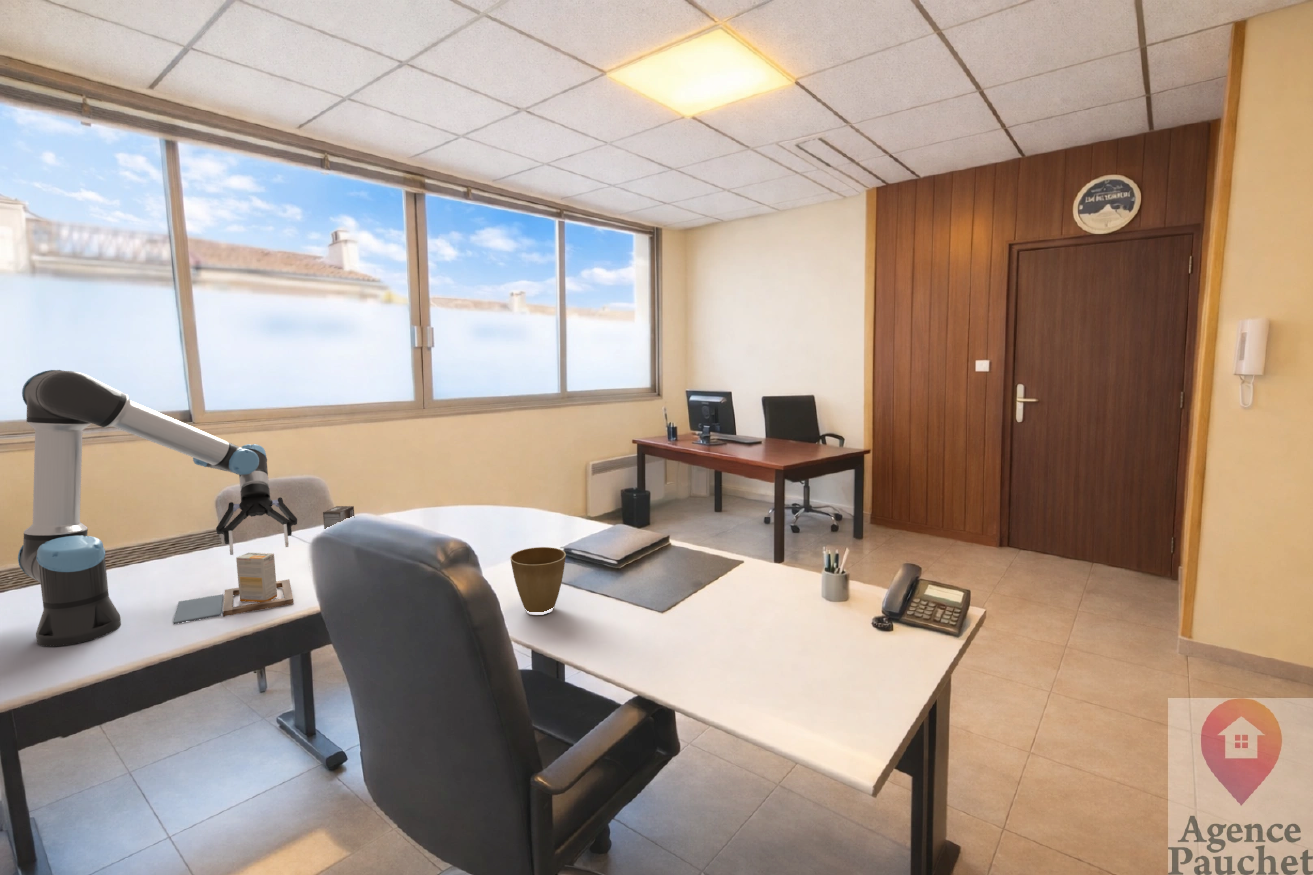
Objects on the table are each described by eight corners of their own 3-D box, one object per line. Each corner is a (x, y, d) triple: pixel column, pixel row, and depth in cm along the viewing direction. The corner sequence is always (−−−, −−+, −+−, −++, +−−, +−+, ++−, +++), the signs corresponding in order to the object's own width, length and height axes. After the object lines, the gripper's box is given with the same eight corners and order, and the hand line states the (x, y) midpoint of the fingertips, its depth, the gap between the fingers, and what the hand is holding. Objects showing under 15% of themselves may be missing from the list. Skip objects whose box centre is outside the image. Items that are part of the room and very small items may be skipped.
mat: (173, 624, 154) (173, 622, 154) (178, 603, 167) (178, 601, 167) (221, 615, 160) (221, 613, 160) (222, 596, 173) (222, 594, 173)
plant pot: (533, 596, 176) (533, 543, 174) (576, 606, 169) (576, 551, 167) (499, 615, 163) (498, 558, 161) (544, 626, 156) (543, 567, 154)
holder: (223, 616, 159) (222, 611, 159) (225, 594, 174) (224, 589, 174) (293, 603, 168) (293, 598, 168) (289, 583, 183) (289, 579, 183)
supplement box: (278, 596, 173) (275, 552, 171) (266, 603, 168) (262, 558, 167) (251, 595, 174) (248, 551, 172) (238, 601, 169) (235, 556, 167)
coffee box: (339, 548, 217) (336, 505, 216) (356, 549, 217) (354, 505, 215) (325, 556, 208) (322, 511, 206) (343, 557, 208) (340, 512, 206)
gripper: (301, 491, 196) (308, 547, 186) (205, 500, 182) (208, 562, 171) (301, 478, 191) (309, 535, 181) (203, 486, 177) (205, 549, 166)
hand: (259, 548), depth 176 cm, fingers open, 13 cm apart
